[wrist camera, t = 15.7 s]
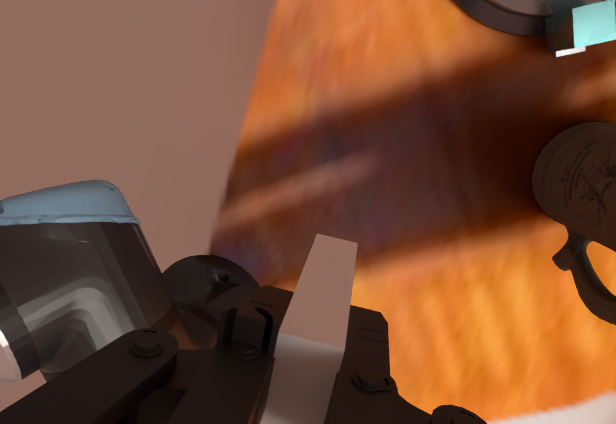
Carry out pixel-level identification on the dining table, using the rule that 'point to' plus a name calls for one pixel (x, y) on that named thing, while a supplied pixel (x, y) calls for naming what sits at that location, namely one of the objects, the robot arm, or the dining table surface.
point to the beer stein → (581, 203)
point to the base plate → (504, 19)
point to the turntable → (567, 21)
